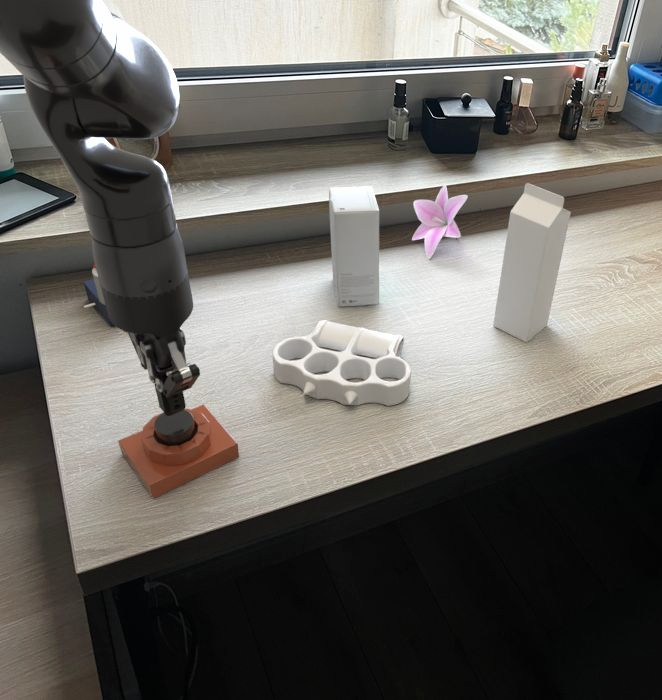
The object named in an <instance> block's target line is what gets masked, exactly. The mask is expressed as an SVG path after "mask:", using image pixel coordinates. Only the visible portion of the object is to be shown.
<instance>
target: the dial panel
mask: <svg viewBox="0 0 662 700" xmlns="http://www.w3.org/2000/svg"><path fill="white" fill-rule="evenodd" d="M83 286H84V290H85V293H86V297H87V300H88V302H89V304H86V305H83V309H87V308H90V307H94V309H95V310H96V311H97V312H98V314H99V315H100V316H101V318H103V320H104V321H105V322H106V323H107V325H108V326H109V328H115V327H116V326H115V325H114V324H113V323H112V322H111V321H110V319H109V316H108V312H107V309H106V305H104V304H102V303H101V302H100V301H99V297H98V293H97V289H96V286H95V282H94V278H93V279H89V280H86V281H83Z"/></svg>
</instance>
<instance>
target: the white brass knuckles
mask: <svg viewBox="0 0 662 700" xmlns="http://www.w3.org/2000/svg"><path fill="white" fill-rule="evenodd" d="M404 343H405V337H404V336H402V334H401V335H400V334H396V335H395V334H391V333H387V332H381V331H378V330H377V331H376V330H371V329H367V328H366V327H362V326H361V327H358V326H353V325H348V324H342V323H338V322H334V321H330V320H328V319H321V320H319V321H318V322H317V323H316V326H315V328H314V330H313V332H312V333H310V334H308V335H306V336H293V337H289V338H285V339H283V340H281V341H280V342H278V343H277V344H276V345H275V346H274V348H273V350H272V364H273V374H274V377H275V379H276V380H277V381H278V382H279V383H281V384H286V385H287V384H288V385H292V386H295V387H298V388H299V389H301V391H302V392H303V393H302V395H307V396H309V397H311V398H314V399H316V400H331V401H334V402H338V403H340V404H341V405H343V406H361V405H363V404H369V403H371V404H373V403H375V404H380V405H384V406H386V407H391V406H395V405H396V406H397V405H398V404H401V403H402V402H404V401H405V400H407V398H408V396H409V395H410V391H411V381H412V379H411V378H412V369H411V367H410V365H409V364H408V362H407V361H405V360H404V359H403V358H401V357H400V356H401V353H402V351H403V347H404ZM295 359H296V360H295ZM321 372H322V373H323V372H326V373H323V374H317V373H321ZM385 378H393V379H397V380H395V381H387V380H384V379H385ZM352 379H360V380H363V381H358V382H354V381H353V382H352V381H348V380H352Z"/></svg>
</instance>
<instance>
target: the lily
mask: <svg viewBox="0 0 662 700" xmlns="http://www.w3.org/2000/svg"><path fill="white" fill-rule="evenodd" d="M468 197H469V195H467V194H460V195H455V196H452V197H450V198H449V193H448V187H447V184H446V183H444V184H443V185H442V186H441V188H440V190H439V192H438V194H437V196H436V198H435V201H433V200H430V199H415V200H414V201H413V204H412V205H413V209H414V212H415V214H416V216H417V219H418V220H419V222H420V225H419V226H418V227H417V229H416V230H415V232H414V233H413V235H412V237H411V241H417V240H422V239H424V251H425V255H426V257H427V259H428V260H430V259H431V258H432V257H433V255H434V253H435V251H436V250H437V247H438V245H439V244H440V241H441V240H442V238H443V237H446V238H453V239H454V238H455V239H456V240H457V239H460V238H462V234H461V231H460V229H459V227H458V224H457V222H456V221H455V217H456V215H457V214H458V212H459V211H460V209H461V208H462V207H463V205H464V204H465V203H466V201H467V200H468Z"/></svg>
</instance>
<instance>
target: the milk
mask: <svg viewBox="0 0 662 700" xmlns="http://www.w3.org/2000/svg"><path fill="white" fill-rule="evenodd" d="M564 204H565V197H564V196H562V195H561V194H557V193H554V192H553V191H549V190H547V189H545V188H541V187H539V186H536V185H534V184H532V183H530V182H526V183H525V184H524V189H523V194H521V196H520V197H519V199H518V200H517V202H516V203H515V204H514V205H513V207H512V208H511V210H510V213H509V218H508V224H507V225H508V226H507V231H506V232H507V233H506V238H505V246H504V252H503V258H502V264H501V272H500V277H499V285H498V292H497V298H496V303H495V311H494V317H493V324H492V325H493V327H494V328H497V329H498V330H500V331H502V332H504V333H507V335H510V336H513V337H515V338H516V339H518V340H521V341H522V342H525V343H528V342H530V340H531V339H533V338H534V337H535V336H536V335H537V334H539V333H540V332H541V331H542V330H544V329H545V328H546V327H547V326H548V323H549V318H550V313H551V310H552V309H551V308H552V303H553V300H554V295H555V289H556V285H557V281H558V276H559V270H560V267H561V260H562V256H563V252H564V246H565V242H566V238H567V232H568V229H569V222H570V219H571V213H572V212H571V211H570V210H568V209H566V208H564Z"/></svg>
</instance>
